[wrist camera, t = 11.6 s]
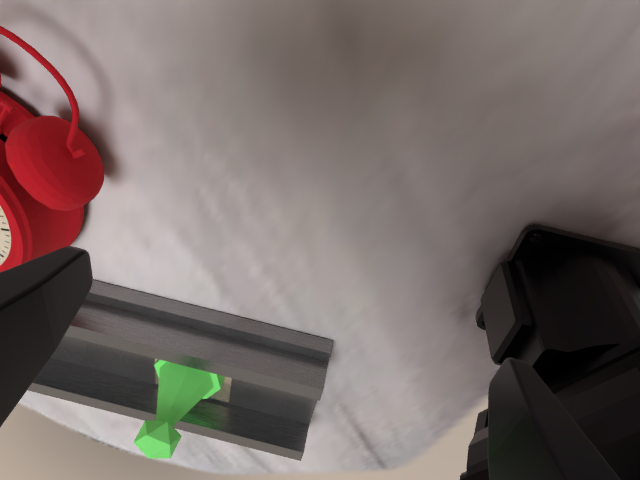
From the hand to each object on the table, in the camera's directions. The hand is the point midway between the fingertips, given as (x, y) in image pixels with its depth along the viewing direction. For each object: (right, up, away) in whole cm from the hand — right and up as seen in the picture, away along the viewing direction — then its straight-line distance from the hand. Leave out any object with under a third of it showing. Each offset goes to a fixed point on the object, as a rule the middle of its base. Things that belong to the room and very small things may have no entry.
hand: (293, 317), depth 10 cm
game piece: (-7, -6, +20) cm, 22 cm away
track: (-11, -5, +20) cm, 24 cm away
